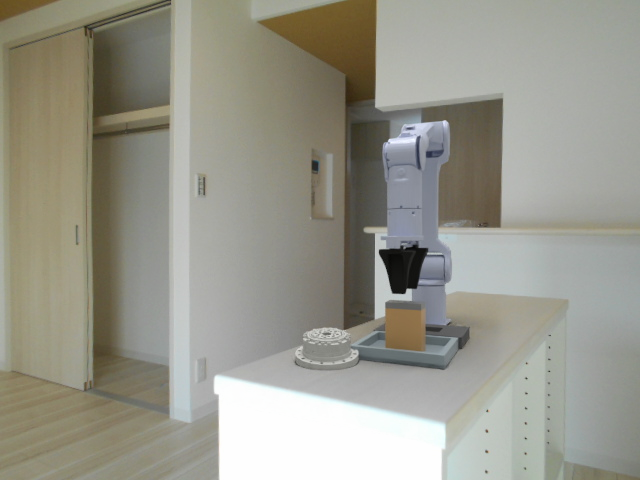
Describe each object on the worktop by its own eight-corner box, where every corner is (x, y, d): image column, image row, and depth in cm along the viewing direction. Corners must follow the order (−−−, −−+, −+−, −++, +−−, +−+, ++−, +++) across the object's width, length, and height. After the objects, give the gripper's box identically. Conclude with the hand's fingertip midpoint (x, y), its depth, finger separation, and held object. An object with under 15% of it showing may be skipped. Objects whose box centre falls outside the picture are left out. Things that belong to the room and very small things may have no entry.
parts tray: (375, 341, 85) (375, 330, 85) (458, 349, 79) (458, 337, 79) (349, 358, 73) (349, 345, 73) (444, 369, 67) (444, 355, 67)
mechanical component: (288, 371, 68) (354, 376, 66) (287, 343, 67) (354, 346, 66) (303, 347, 78) (361, 351, 76) (302, 322, 77) (361, 325, 75)
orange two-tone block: (390, 346, 79) (390, 299, 79) (425, 349, 76) (425, 301, 76) (385, 350, 76) (385, 302, 76) (421, 353, 73) (421, 304, 73)
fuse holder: (389, 330, 95) (389, 320, 95) (469, 337, 88) (469, 327, 88) (373, 340, 86) (373, 329, 86) (461, 348, 79) (461, 337, 79)
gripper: (393, 212, 84) (393, 285, 84) (367, 208, 71) (367, 295, 71) (432, 211, 81) (432, 287, 81) (411, 206, 68) (412, 297, 68)
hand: (405, 291), depth 76 cm, fingers open, 7 cm apart
